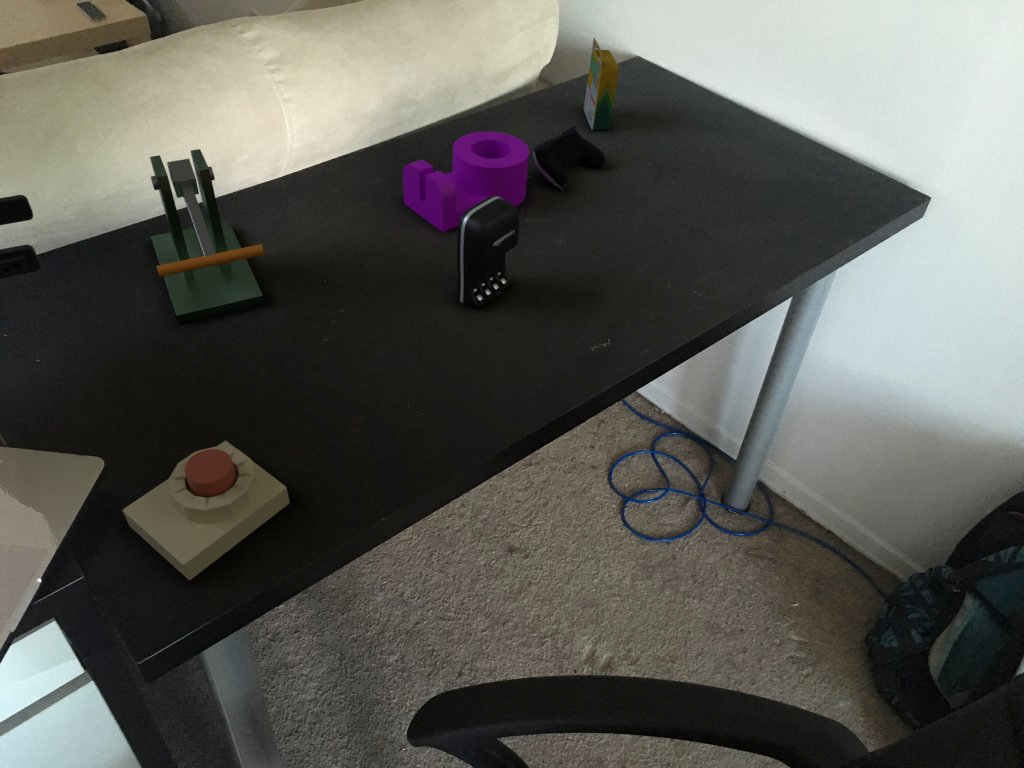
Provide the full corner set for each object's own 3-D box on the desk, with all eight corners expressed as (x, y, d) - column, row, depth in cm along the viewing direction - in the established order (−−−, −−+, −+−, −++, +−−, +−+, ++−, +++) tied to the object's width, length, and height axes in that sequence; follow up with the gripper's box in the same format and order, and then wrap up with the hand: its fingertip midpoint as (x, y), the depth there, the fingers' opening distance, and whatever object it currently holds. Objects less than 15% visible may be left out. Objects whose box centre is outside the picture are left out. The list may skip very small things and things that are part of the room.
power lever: (265, 261, 80) (263, 246, 78) (161, 283, 76) (157, 268, 74) (229, 168, 85) (227, 152, 83) (130, 185, 81) (125, 168, 79)
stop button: (208, 504, 62) (203, 490, 61) (180, 481, 64) (175, 467, 62) (245, 477, 64) (241, 464, 63) (217, 456, 66) (213, 442, 64)
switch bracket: (264, 304, 86) (242, 192, 77) (178, 324, 83) (145, 209, 73) (230, 229, 96) (207, 122, 87) (153, 244, 93) (120, 135, 83)
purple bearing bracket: (493, 166, 112) (495, 125, 107) (540, 196, 106) (544, 154, 102) (400, 200, 103) (398, 156, 99) (446, 234, 98) (446, 190, 94)
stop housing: (189, 581, 61) (177, 551, 58) (129, 526, 64) (115, 495, 62) (290, 503, 67) (283, 472, 64) (230, 456, 70) (221, 425, 68)
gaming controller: (589, 174, 116) (566, 131, 115) (610, 161, 113) (586, 117, 112) (546, 200, 110) (520, 155, 109) (567, 188, 106) (540, 141, 105)
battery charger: (480, 316, 87) (484, 227, 79) (454, 302, 89) (455, 213, 81) (519, 288, 91) (526, 201, 83) (493, 275, 93) (498, 188, 85)
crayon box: (610, 131, 122) (622, 55, 114) (591, 131, 122) (602, 55, 114) (601, 110, 127) (611, 36, 119) (583, 110, 127) (592, 36, 119)
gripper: (-238, 283, 55) (22, 235, 61) (-213, 186, 64) (12, 153, 70) (-180, 363, 60) (55, 312, 66) (-164, 264, 69) (42, 226, 75)
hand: (33, 230), depth 68 cm, fingers open, 8 cm apart
